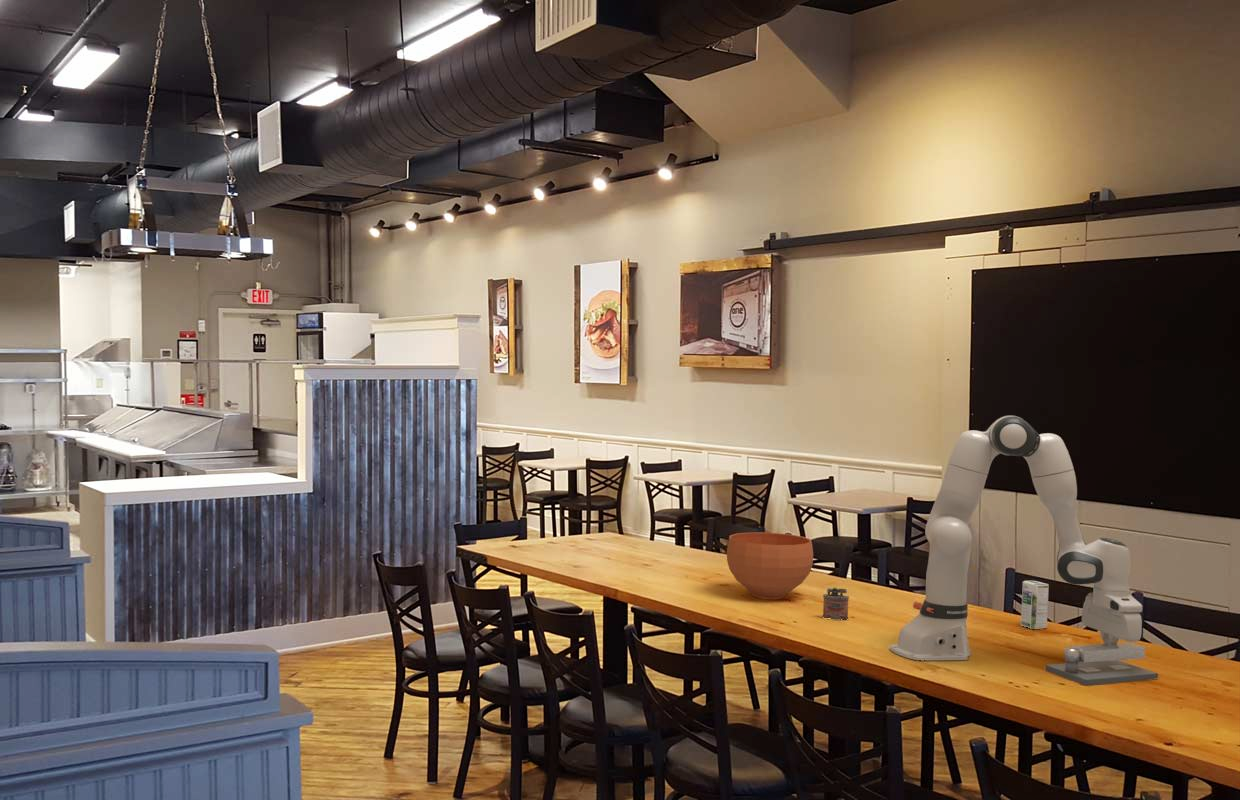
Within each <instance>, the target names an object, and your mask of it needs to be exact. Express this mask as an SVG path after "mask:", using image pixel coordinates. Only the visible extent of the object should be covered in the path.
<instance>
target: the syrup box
mask: <svg viewBox="0 0 1240 800" xmlns="http://www.w3.org/2000/svg"><path fill="white" fill-rule="evenodd" d="M1049 586H1050V585H1049V583H1044V582H1041V581H1037V580H1024V581H1022V589H1021V590H1022V593H1021V594H1022V595H1021V611H1020V612H1021V614H1020V627H1022V626H1024V627H1023V628H1026V627H1028V628H1027V629H1029V628H1030V629H1029V630H1032V629H1039V628H1047V629H1048V609H1049V588H1050V587H1049Z"/></svg>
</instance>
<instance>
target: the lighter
mask: <svg viewBox="0 0 1240 800" xmlns="http://www.w3.org/2000/svg"><path fill="white" fill-rule="evenodd" d="M826 590H827V591H826V592H827V593H826V594H825V593H824V594H823V595H822V597H823V604H822V605H823V608H822V609H823V610H822V612H823V613H822V618H823V617H824V618H831V619H840V620H839V621H841V619H842V620H847V619H848V620H849V616H848V614H849V599H850V597H849V596H848V595H844V594H847V591H848V590H847V589H846V588H837V587H835V586H834V587H833V588H830V587H829V588H826ZM848 620H847V621H848Z"/></svg>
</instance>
